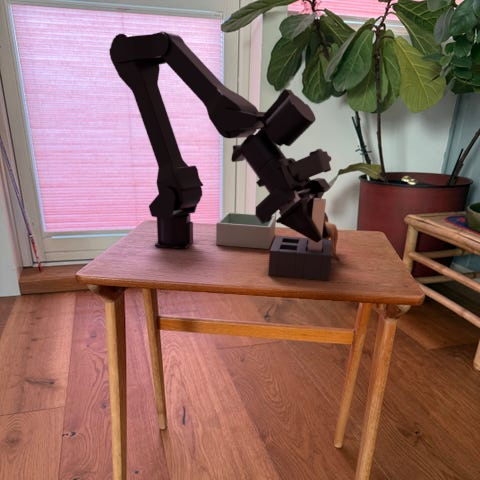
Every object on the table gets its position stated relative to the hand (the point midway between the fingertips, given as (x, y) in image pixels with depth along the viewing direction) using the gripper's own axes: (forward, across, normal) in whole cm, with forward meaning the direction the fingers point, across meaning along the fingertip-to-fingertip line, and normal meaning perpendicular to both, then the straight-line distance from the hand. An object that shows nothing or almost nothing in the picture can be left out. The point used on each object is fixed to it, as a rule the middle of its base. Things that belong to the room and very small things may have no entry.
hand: (323, 239), depth 78 cm
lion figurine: (+1, +13, +9) cm, 16 cm away
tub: (-11, +12, +20) cm, 26 cm away
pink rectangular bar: (+4, 0, +6) cm, 7 cm away
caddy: (+2, +1, +8) cm, 8 cm away
